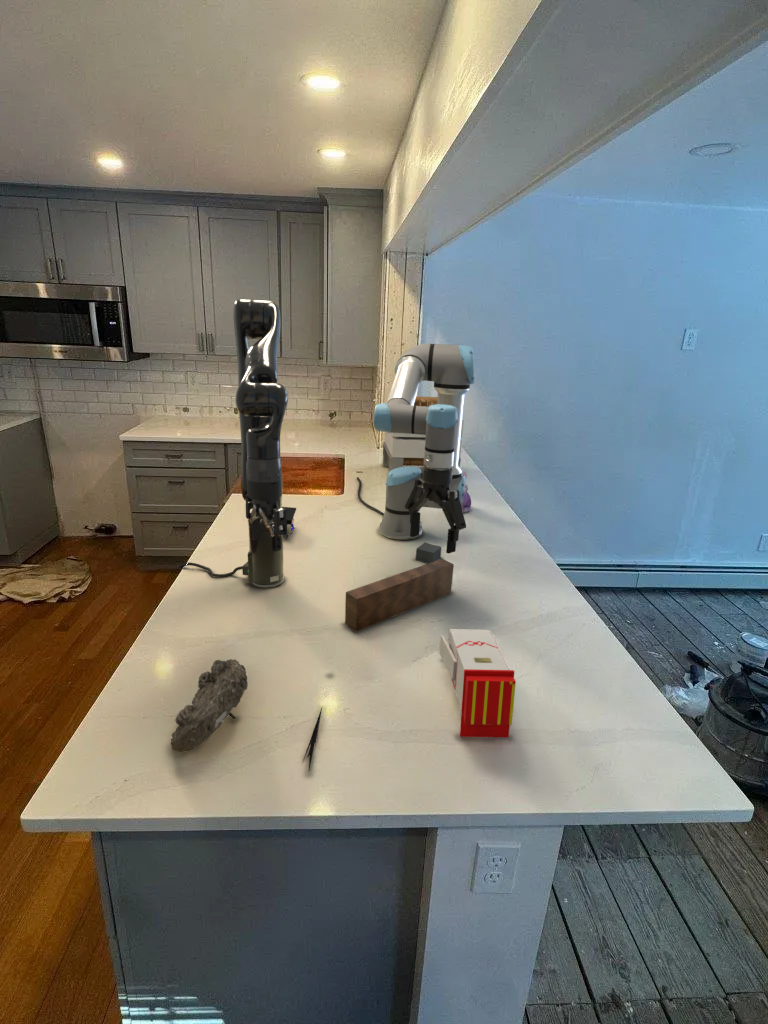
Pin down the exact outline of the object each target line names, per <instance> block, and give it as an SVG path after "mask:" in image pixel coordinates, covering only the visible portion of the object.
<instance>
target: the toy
mask: <svg viewBox="0 0 768 1024" xmlns="http://www.w3.org/2000/svg"><path fill="white" fill-rule="evenodd" d="M438 654H439V656H440V658H441V660H442V662H443V665H444V666H445V668H446V671H447V673H448V675H449V677H450V681H451V683H452V685H453V689H454V690H455V695H456V698H457V702H458V705H459V708H460V726H459V737H460V738H509V737H510V728H511V727H510V726H512V725H513V717H514V706H515V705H514V704H515V693H516V684H517V683H516V679H515V670H514V669H510V667H509V666H508V663H507V662H506V660H505V658H504V655H503V654H502V652H501V650H500V648H499V644H498V642H497V638H496V635H495V634H492V632H491V631H490V629H467V628H466V629H465V628H463V629H461V628H460V629H459V628H450V629H449V631H448V641H447V639H446V638H445V636H444V634H443V635H442V634H441V635H440V641H439V651H438Z"/></svg>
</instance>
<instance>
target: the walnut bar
mask: <svg viewBox="0 0 768 1024" xmlns="http://www.w3.org/2000/svg"><path fill="white" fill-rule="evenodd" d="M454 567H455V565H454V563H452V562H450V561H448V560H446V559H444V558H440V559H439V560H437V561H434V562H431V563H425V564H423V565H422V564H421V565H420V566H417V567H413V568H412V569H407V570H405V571H403V572H399V573H397V574H394V575H391V576H388V577H385V578H382V579H380V580H379V579H378V580H377V581H373V582H371V583H368V584H365V585H362V586H359V587H356V588H353V589H350V590H348V591H345V608H344V609H345V610H344V625H346V626H347V627H348V628H350V629H351V630H353V631H354V632H356V633H357V632H359V631H361V630H364V629H367V628H369V627H371V626H374V625H377V624H379V623H381V622H383V621H384V622H385V621H386V620H389V619H392V618H393V617H397V616H398V615H401V614H404V613H406V612H408V611H410V610H413V609H416V608H418V607H420V606H423V605H425V604H428V603H430V602H432V601H435V600H437V599H440V598H442V597H445V596H447V595H450V594H452V587H453V577H454Z"/></svg>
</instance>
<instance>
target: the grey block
mask: <svg viewBox="0 0 768 1024" xmlns="http://www.w3.org/2000/svg"><path fill="white" fill-rule="evenodd" d="M415 553H416V554H415V561H419V562H421V563H425V564H428V563H431V562H434V561H437V560H439V559H442V557H441V556H442V546H440V545H437V544H434V543H433V544H432V543H428V542H423V543H422V544H421V545H419V546H418V547H417V548H416V550H415Z"/></svg>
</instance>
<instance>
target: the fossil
mask: <svg viewBox="0 0 768 1024" xmlns="http://www.w3.org/2000/svg"><path fill="white" fill-rule="evenodd" d="M197 683H198V684H197V687H198V690H197V691H196V693H195V694H194V697H193V698H192V701H191V704H187V705H185V706H184V707H183V708H182V709H181V710H179V712H178V713H177V715H176V717H175V719H174V721H175V723H176V725H177V726H176V728H175V730H174V731H173V732H172V733H171V735H170V736H171V738H170V747H171V750H172V751H176V752H178V753H186V752H190V751H193V752H195V751H197V750H198V749H199V748H200V747H201V746H202V745H203V744H204V743H205V742H207V741H208V740H209V739H210V737H211V736H212V735H213V734H215V733H216V731H218V730H219V729H220V728H221V726H222V725H223V723H224V721H225V720H226V719H227V718H228V717H230V718H232V720H235V719H236V716H235V715H234V714H233V713H232V710H233V709H235V708H237V706H238V705H239V704H240V702H241V700H242V698H243V696H244V693H245V691H246V690H247V689H248V686H249V685H248V675H247V669H246V668H245V666H244V665H243V664H241V663H240V661H238V660H237V659H236V658H234V659H232V658H230V659H226V660H221V659H216V660H214V661H213V662H212V665H211V667H210V671H208V670H207V671H205V672H201V674H200V675H199V676H198V681H197Z"/></svg>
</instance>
